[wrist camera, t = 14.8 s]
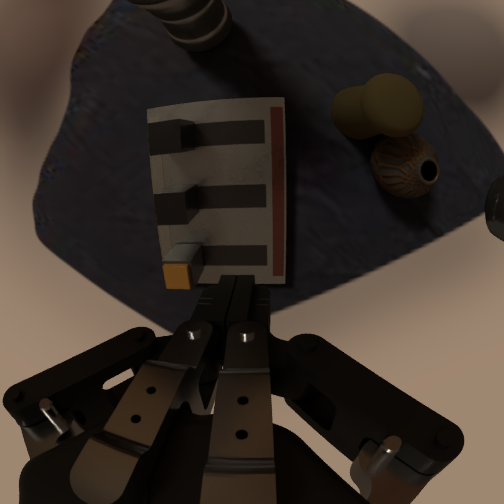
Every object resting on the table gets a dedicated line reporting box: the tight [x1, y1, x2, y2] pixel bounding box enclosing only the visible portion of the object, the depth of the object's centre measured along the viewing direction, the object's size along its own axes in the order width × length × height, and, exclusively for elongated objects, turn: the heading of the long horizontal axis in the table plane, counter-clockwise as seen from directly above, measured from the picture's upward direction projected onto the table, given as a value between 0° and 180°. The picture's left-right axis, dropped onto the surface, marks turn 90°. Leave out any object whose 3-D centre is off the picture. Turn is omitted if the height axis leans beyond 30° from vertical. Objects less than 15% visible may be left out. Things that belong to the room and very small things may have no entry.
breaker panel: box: [147, 97, 286, 284], centre depth 27 cm, size 14×20×6 cm
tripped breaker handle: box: [162, 244, 204, 289], centre depth 28 cm, size 3×3×5 cm
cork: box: [331, 73, 424, 140], centre depth 20 cm, size 6×6×11 cm
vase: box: [370, 133, 440, 199], centre depth 23 cm, size 7×7×9 cm
